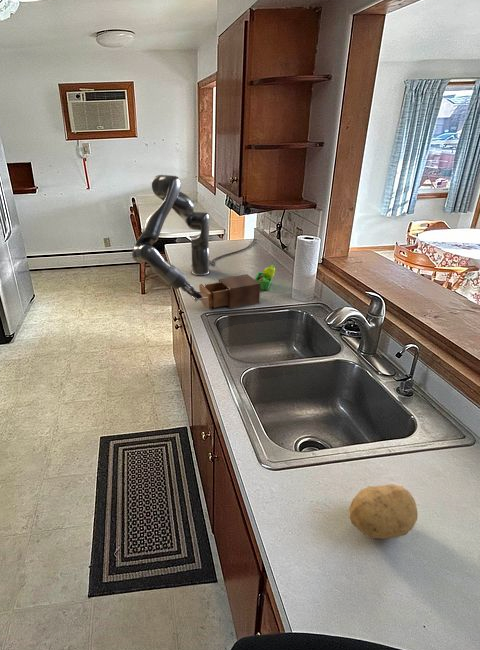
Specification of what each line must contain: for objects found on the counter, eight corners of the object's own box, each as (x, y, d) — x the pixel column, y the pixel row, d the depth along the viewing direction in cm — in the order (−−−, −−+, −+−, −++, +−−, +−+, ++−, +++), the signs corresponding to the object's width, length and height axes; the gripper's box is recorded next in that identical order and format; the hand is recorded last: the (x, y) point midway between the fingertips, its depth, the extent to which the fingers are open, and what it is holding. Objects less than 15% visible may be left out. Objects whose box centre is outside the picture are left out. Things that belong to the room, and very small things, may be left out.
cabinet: (229, 308, 172) (230, 288, 168) (218, 297, 183) (218, 278, 179) (259, 303, 176) (260, 283, 172) (246, 292, 187) (247, 274, 183)
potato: (332, 514, 82) (337, 487, 79) (387, 495, 85) (394, 469, 82) (366, 560, 73) (373, 532, 70) (425, 536, 77) (434, 509, 73)
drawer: (196, 312, 168) (196, 295, 165) (187, 301, 178) (187, 286, 175) (237, 304, 173) (237, 288, 170) (226, 295, 183) (226, 279, 180)
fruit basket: (257, 281, 199) (258, 260, 194) (275, 283, 196) (276, 262, 192) (253, 290, 189) (254, 268, 185) (272, 292, 187) (273, 269, 182)
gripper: (183, 274, 158) (211, 296, 167) (173, 264, 170) (200, 285, 178) (171, 288, 159) (200, 310, 167) (162, 277, 171) (189, 298, 179)
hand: (200, 297), depth 173 cm, fingers closed
